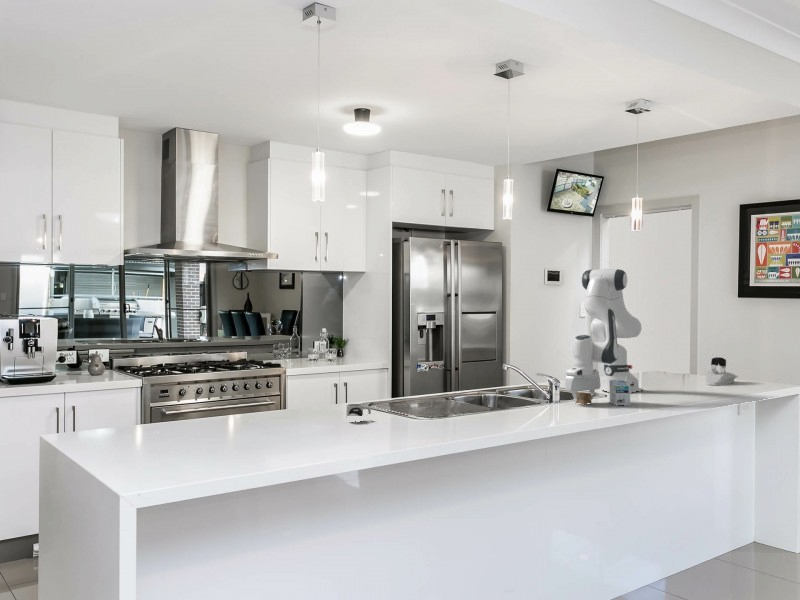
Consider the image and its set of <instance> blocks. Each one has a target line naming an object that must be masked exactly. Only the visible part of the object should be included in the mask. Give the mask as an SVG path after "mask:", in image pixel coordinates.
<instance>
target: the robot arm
mask: <svg viewBox="0 0 800 600" xmlns="http://www.w3.org/2000/svg"><path fill="white" fill-rule="evenodd" d="M581 284H582V285H581V286H582V287H583V289H584V290H585V295H584V296H585V297H584V310H585V311H586V313H587V315H589V316H590V317H592V318H593V320H592V321H591V322H590V326H589V329H590V332H591V334H592V335H593V336H594V337H595V338H597V340H598V341H593V340H592V337H591V335H588V334H581V335H577V336H575V337H574V340H573V345H572V346H573V347H572V355H573V364H572V365H573V366H571V367H569V368H568V369H566V370H565V372H564V373H565V375H566V376H565V380H564V383H565V384H564V386H565V387H564V388H565V391H566V392H568V393H571V395H572V396H573V401H574V402H576V401H579V397H577V393H578V392H584V391H589V392H588V393H591V400H593V398H594V395H595V391H596V390H600V388H602V390H604V391H607V392H606V393H610V381H609V380H624V381H626V382H630V394H632V393H631V392H634V393H637V392H636V391H639V392H642V391H641V390H643V391H644V388H642V387H639V380H638V378H637V377H636V376H635V375H633V374H632V372H631V371H630V370H632V369H633V364H628V353H627V352H628V351H627V349H626V348H625V346H623V345H621V344H619V343H618V339H631V338H637V337H638V336H639V335H640V334H641V331H642V324H641V322H640V320H639V319H638V318H636V317H635V316H634V315H632V314H631V313H630V311H628V309H627V308H626V305H625V301H624V296H623V295H624V294H623V291H624V289H625V288H626V287H627V285H628V275H627V272H626V271H624V270H623V269H615V268H600V269H599V268H598V269H597V268H596V269H587V270H585V271H584V272H583V273H582V277H581ZM593 363H600V364H601V363H603V364H604V365H603V371H604V374H603V375H602V377H603V378H602V387H601V378H600V374H599V371H598V370H597V369H595V368H594V364H593ZM602 390H601V391H602ZM604 391H603V392H604Z"/></svg>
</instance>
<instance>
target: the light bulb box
mask: <svg viewBox="0 0 800 600" xmlns="http://www.w3.org/2000/svg"><path fill="white" fill-rule="evenodd" d="M609 381H610V392H609V403H610V404H612V405H613V406H615V407H619V406H618V405H624V406H623V407H629V406H631V393H630V382H626V381H624V380H609Z"/></svg>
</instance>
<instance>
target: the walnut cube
mask: <svg viewBox="0 0 800 600" xmlns="http://www.w3.org/2000/svg"><path fill="white" fill-rule="evenodd" d="M577 397H579V401H575V404H576V403H581V404H587V403H591V404H592V399H591V393H590V392H584V391H580V392H577ZM581 404H580V405H581Z"/></svg>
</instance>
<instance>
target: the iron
mask: <svg viewBox="0 0 800 600" xmlns="http://www.w3.org/2000/svg"><path fill="white" fill-rule="evenodd" d="M710 366H711V369H710V371H709V370H708V371H707V372H706V373H705V378H706V380H705V383H706V385H707V386H708V385H709V386H727V385H731V384H733V383H734V382H735V379H736V378H738V377H739V375H736V374H734V373H731V372H727V371H726V368H727V367H726V366H727V359H726V358H723V357H718V356H716V357H711V362H710ZM717 366H719V367H720V369H719V371H717Z"/></svg>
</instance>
